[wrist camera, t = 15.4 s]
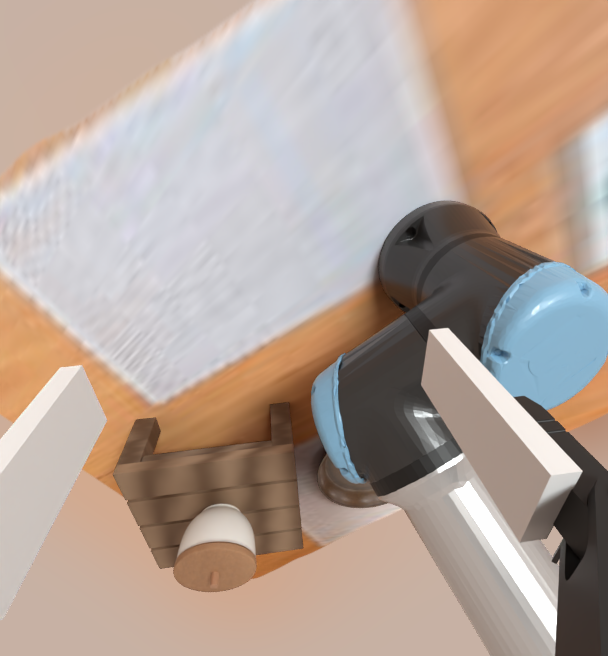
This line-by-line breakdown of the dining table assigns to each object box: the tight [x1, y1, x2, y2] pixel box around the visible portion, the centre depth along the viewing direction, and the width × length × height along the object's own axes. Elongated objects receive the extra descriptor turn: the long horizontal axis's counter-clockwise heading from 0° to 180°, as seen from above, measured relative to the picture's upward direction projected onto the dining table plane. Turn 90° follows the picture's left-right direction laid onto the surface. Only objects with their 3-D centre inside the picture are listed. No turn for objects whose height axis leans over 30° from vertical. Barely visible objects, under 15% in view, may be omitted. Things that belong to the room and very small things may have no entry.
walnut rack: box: [113, 402, 303, 569], centre depth 57 cm, size 24×24×10 cm
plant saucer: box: [317, 453, 387, 508], centre depth 64 cm, size 21×21×3 cm
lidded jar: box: [173, 504, 256, 592], centre depth 49 cm, size 11×11×9 cm
